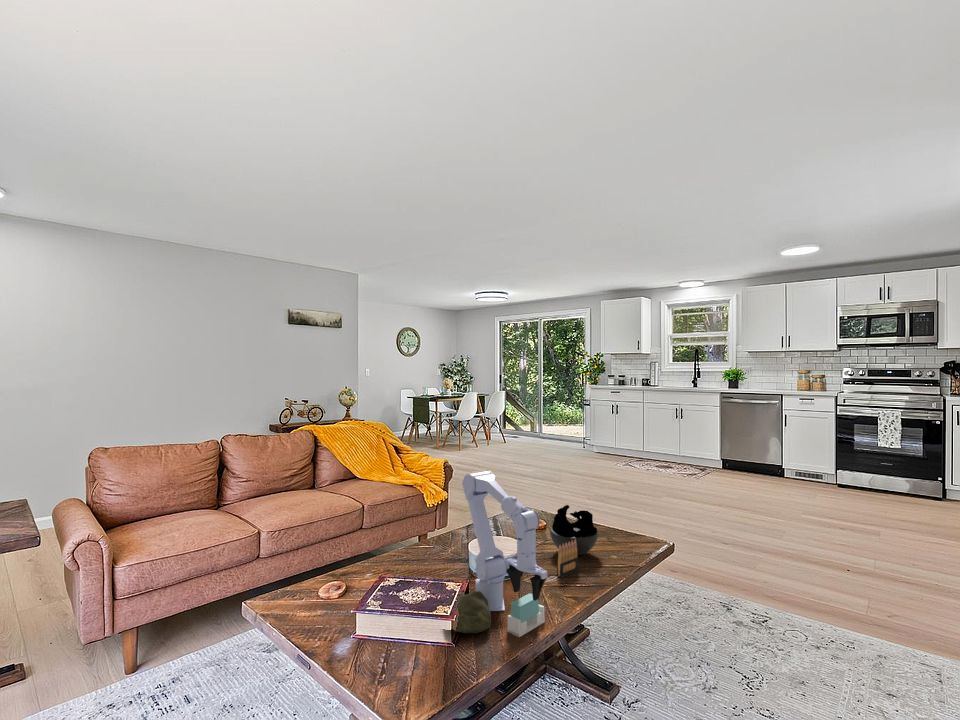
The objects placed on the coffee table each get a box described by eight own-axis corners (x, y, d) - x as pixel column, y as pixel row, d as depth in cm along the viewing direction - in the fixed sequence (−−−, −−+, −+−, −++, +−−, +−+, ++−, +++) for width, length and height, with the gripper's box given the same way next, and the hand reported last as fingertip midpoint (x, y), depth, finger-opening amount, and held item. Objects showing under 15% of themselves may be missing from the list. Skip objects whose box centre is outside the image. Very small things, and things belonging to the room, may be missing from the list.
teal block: (520, 623, 154) (520, 606, 154) (511, 619, 156) (511, 602, 156) (538, 612, 160) (538, 596, 160) (529, 609, 163) (529, 593, 163)
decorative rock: (439, 643, 152) (435, 610, 152) (450, 613, 168) (446, 583, 167) (489, 642, 150) (485, 608, 150) (495, 611, 166) (492, 581, 165)
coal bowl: (599, 564, 206) (599, 517, 206) (549, 561, 209) (549, 515, 209) (596, 546, 226) (596, 503, 226) (550, 544, 229) (550, 501, 229)
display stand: (519, 637, 153) (519, 621, 153) (507, 631, 156) (507, 615, 156) (544, 621, 162) (544, 606, 161) (533, 616, 165) (533, 601, 165)
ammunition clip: (560, 577, 194) (560, 545, 194) (556, 576, 196) (556, 544, 196) (578, 570, 201) (578, 539, 201) (574, 568, 203) (574, 537, 203)
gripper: (553, 553, 156) (553, 598, 156) (516, 541, 166) (516, 583, 167) (539, 560, 151) (538, 606, 151) (502, 547, 161) (501, 590, 162)
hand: (526, 595), depth 159 cm, fingers open, 7 cm apart
